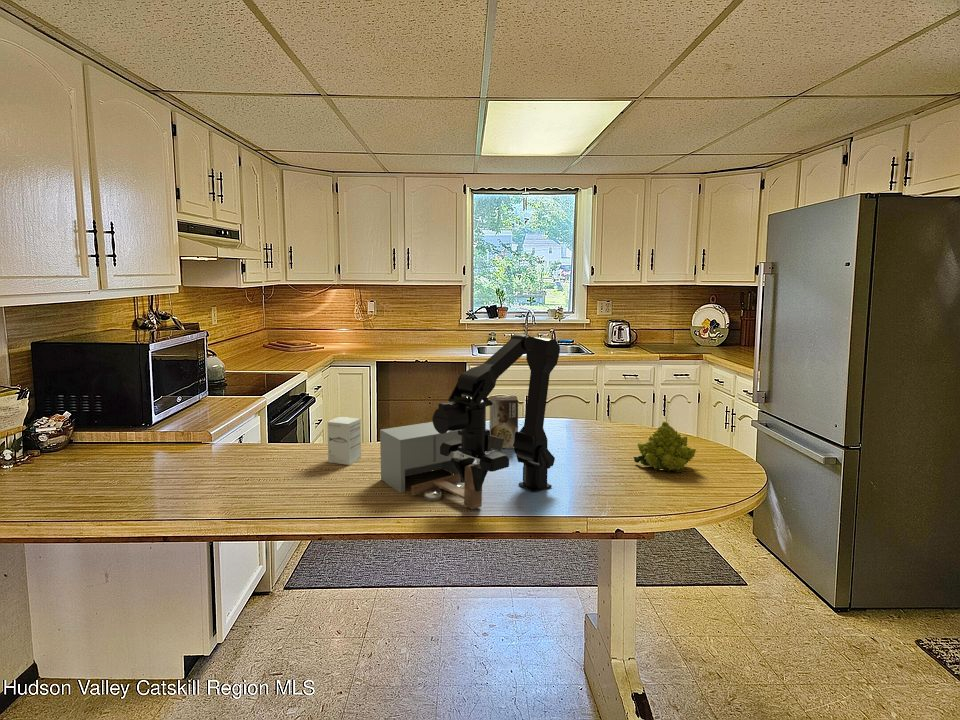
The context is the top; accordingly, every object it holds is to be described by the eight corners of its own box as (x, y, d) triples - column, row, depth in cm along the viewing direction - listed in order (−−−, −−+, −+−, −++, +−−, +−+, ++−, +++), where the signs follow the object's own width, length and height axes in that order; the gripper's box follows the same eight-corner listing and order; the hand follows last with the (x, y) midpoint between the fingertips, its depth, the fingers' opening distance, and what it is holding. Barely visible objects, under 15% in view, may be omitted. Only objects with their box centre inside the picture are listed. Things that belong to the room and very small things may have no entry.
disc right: (468, 490, 161) (468, 485, 160) (456, 495, 158) (456, 489, 157) (457, 486, 164) (457, 480, 163) (444, 490, 161) (444, 484, 160)
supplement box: (327, 463, 182) (326, 421, 180) (340, 456, 189) (339, 415, 187) (349, 465, 180) (348, 423, 178) (362, 458, 187) (361, 417, 185)
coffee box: (516, 443, 204) (517, 395, 202) (518, 448, 198) (519, 399, 195) (488, 443, 204) (489, 395, 201) (489, 449, 197) (490, 399, 195)
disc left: (444, 498, 155) (444, 492, 155) (431, 502, 152) (431, 496, 152) (433, 493, 159) (433, 487, 158) (420, 497, 156) (420, 491, 155)
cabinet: (466, 478, 169) (466, 429, 167) (401, 493, 158) (400, 440, 156) (444, 466, 179) (444, 419, 177) (381, 479, 168) (380, 429, 166)
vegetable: (620, 452, 182) (649, 410, 181) (652, 472, 189) (681, 432, 188) (650, 476, 169) (682, 432, 168) (683, 497, 176) (714, 454, 175)
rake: (499, 500, 152) (501, 461, 151) (452, 516, 143) (453, 474, 141) (457, 481, 165) (458, 445, 163) (411, 494, 155) (411, 456, 153)
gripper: (526, 427, 144) (524, 491, 147) (472, 413, 158) (471, 472, 160) (491, 436, 137) (491, 503, 139) (438, 420, 150) (438, 482, 153)
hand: (473, 489), depth 148 cm, fingers closed on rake, 3 cm apart
